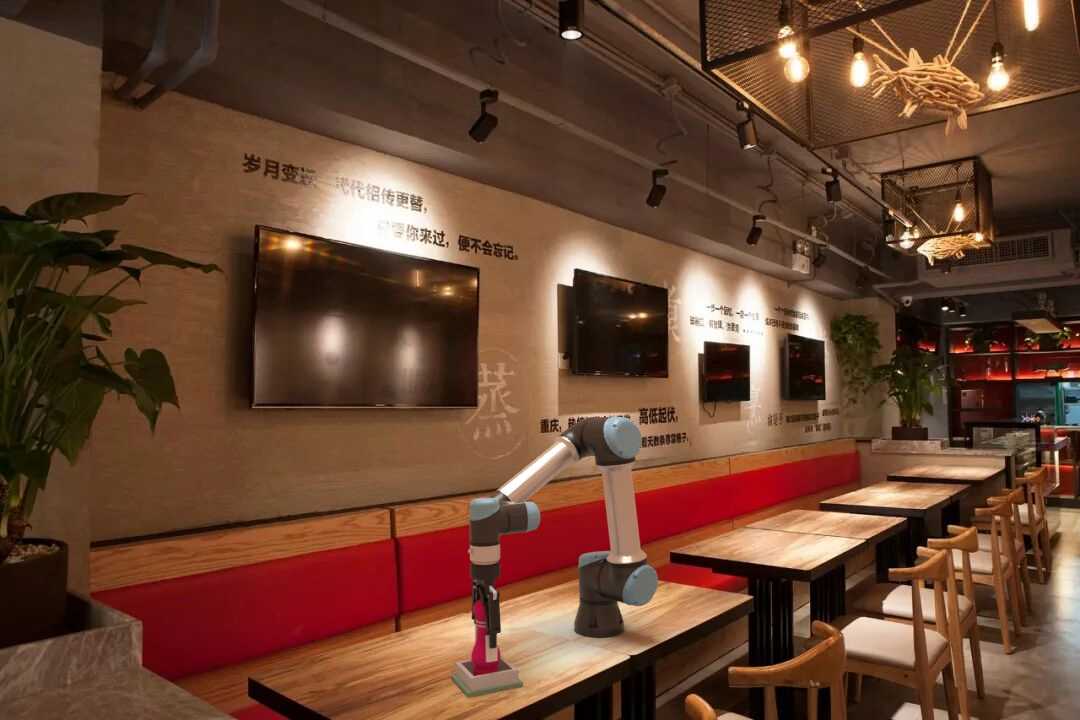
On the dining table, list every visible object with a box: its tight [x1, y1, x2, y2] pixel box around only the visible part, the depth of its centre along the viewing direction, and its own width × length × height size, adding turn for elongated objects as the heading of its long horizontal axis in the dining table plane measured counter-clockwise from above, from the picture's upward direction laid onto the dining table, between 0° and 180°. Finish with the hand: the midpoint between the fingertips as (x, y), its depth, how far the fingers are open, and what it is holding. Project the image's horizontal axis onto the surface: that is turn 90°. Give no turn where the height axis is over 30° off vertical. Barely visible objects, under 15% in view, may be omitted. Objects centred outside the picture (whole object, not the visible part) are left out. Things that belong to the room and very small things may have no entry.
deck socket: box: [450, 655, 524, 698], centre depth 172 cm, size 14×13×4 cm
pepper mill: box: [470, 599, 502, 676], centre depth 173 cm, size 7×7×20 cm
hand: (486, 655), depth 172 cm, fingers closed on pepper mill, 7 cm apart
